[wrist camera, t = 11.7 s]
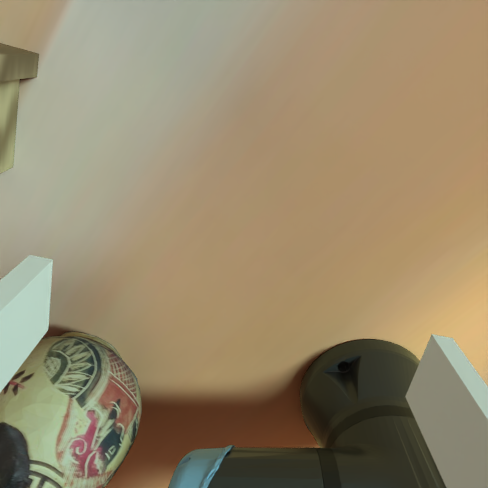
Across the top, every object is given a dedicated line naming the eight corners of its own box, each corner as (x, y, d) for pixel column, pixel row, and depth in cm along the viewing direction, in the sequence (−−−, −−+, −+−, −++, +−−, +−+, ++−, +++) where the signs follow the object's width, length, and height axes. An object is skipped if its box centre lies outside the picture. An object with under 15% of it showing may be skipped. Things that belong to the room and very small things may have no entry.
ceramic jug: (172, 402, 56) (95, 742, 29) (56, 426, 58) (-123, 767, 30) (122, 281, 50) (-39, 566, 22) (-7, 312, 52) (-303, 612, 24)
